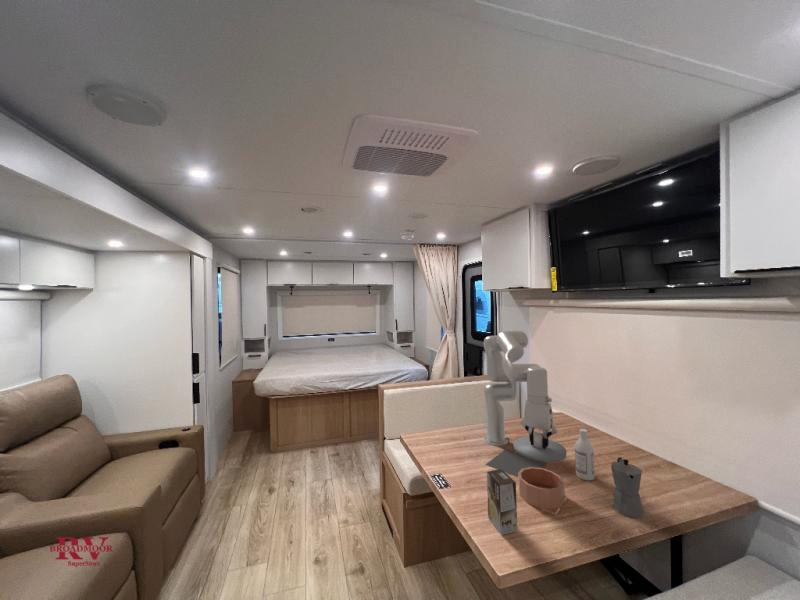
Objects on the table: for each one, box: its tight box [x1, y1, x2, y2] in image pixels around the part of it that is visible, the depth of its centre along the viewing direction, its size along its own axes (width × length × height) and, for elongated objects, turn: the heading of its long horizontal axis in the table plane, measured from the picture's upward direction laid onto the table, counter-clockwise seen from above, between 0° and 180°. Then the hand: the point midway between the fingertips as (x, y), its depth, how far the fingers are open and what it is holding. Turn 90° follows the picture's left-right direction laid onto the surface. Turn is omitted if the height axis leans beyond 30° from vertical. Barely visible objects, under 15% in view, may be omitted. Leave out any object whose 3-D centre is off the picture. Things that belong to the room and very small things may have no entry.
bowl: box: [517, 467, 566, 510], centre depth 120 cm, size 16×16×7 cm
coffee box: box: [486, 469, 518, 536], centre depth 105 cm, size 9×6×16 cm
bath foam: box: [574, 428, 595, 481], centre depth 133 cm, size 7×7×20 cm
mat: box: [485, 449, 549, 478], centre depth 144 cm, size 21×21×1 cm
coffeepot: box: [610, 457, 644, 519], centre depth 112 cm, size 15×9×18 cm, turn 159°
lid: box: [513, 431, 567, 463], centre depth 121 cm, size 19×19×6 cm
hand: (539, 445), depth 121 cm, fingers closed on lid, 4 cm apart
